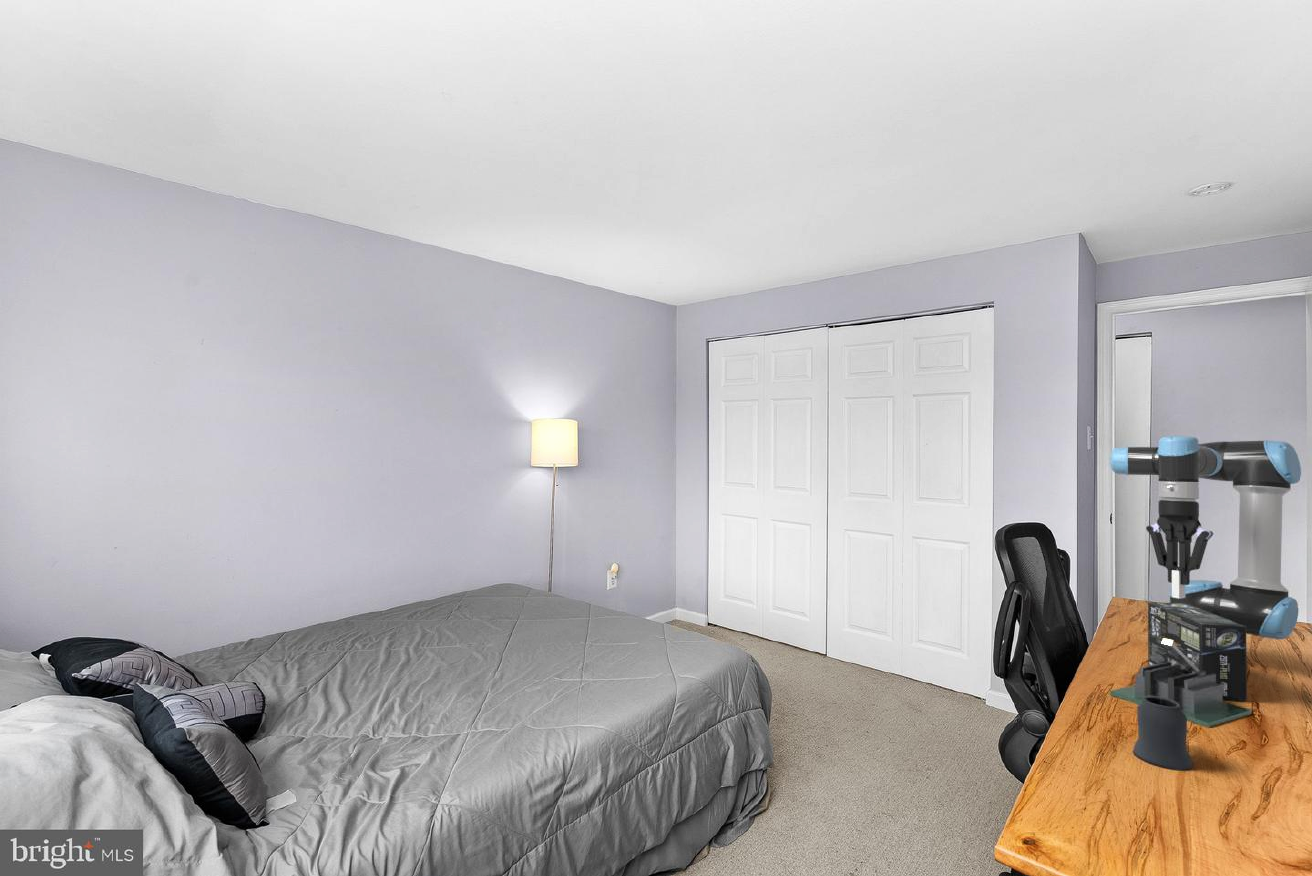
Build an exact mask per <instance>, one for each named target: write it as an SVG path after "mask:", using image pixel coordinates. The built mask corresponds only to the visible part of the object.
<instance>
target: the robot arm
mask: <svg viewBox="0 0 1312 876" xmlns="http://www.w3.org/2000/svg"><path fill="white" fill-rule="evenodd" d="M1109 465H1110V469H1111V470H1112V472H1114V473H1115V474H1117V475H1126V476H1131V475H1133V476H1136V475H1137V476H1158V498H1161V499H1159V501H1158V518H1157V520H1156V523H1154V524H1152V525H1147V526H1146V527H1145V529H1146V531H1147V532H1148V533H1149V535H1150V538H1151V542H1152V545H1153V549H1154V552H1155V556H1156V560H1157V564H1158V565H1159V566H1162V567H1163V568H1166V569H1167V582H1168V583H1169V584H1170V583H1171V584H1170V589H1169V603H1185V604H1189V605H1192V606H1194V607H1197V608H1199V609H1202V610H1205V611H1207V612H1210V613H1213V614H1215V615H1218V616H1221V617H1223V618H1226V619H1228V620H1231V621H1234V622H1236V623H1239V624H1241V625H1244V626H1246V635H1247V634H1248V635H1251V636H1257V637H1260V638H1268V639H1274V640H1285V639H1287V638H1288V637H1290V635H1291V634H1292V633H1293V631H1294V630H1295V627H1296V625H1297V621H1298V617H1299V603H1298V601H1297V600H1296V599H1295V598H1293V597H1291V596H1289V589H1287V588H1286V587H1285V586H1284V585H1283V584H1282V582H1281V580H1282V577H1281V576H1282V539H1283V538H1282V536H1283V533H1282V532H1283V531H1282V530H1283V496H1284V495H1285V494H1288V493H1289V492H1290V491H1291V486H1292V485H1291V484H1293V485H1294V484H1297V483H1299V482H1300V480H1301V476H1302V468H1301V463H1300V459H1299V456H1298V453H1297V451H1296V450H1295V448H1294V447H1293V445H1291V444H1290V443H1288V442H1286V441H1280V440H1246V441H1245V440H1243V441H1242V440H1241V441H1240V440H1237V441H1236V440H1235V441H1212V442H1205V443H1199V440H1198V438H1197V437H1195V436H1185V435H1184V436H1183V435H1182V436H1176V435H1175V436H1163V437H1161V438H1160V439H1159V441H1158V446H1124V447H1122V446H1121V447H1116V448H1114V449H1113V450H1112V451H1111V453H1110V455H1109ZM1200 479H1205V480H1209V481H1210V480H1212V481H1219V482H1232V488H1233V489H1234V490H1236V491H1237V492H1238V493H1239V517H1238V521H1239V522H1238V550H1237V551H1238V552H1237V554H1238V555H1237V578H1236V579H1234V580H1232V581H1231V582H1230V583H1229V588H1225V587H1223V586H1224V585H1223V584H1222V582H1221V581H1216V580H1209V579H1208V580H1206V579H1205V580H1201V579H1196V580H1195V579H1191V580H1190V575H1191V574H1190V572H1191V571H1197V570H1200V568H1201V565H1202V562H1203V558H1204V554H1205V552H1206V549H1207V545H1208V542H1209V540H1210V539H1211V538H1212V536H1213V535H1214V532H1213V531H1212V530H1207V529H1205V528H1204V527H1202V523H1201V522H1200V520H1199V516H1200V503H1198V501H1196V500H1198V499H1200V487H1199V483H1200ZM1161 532H1163V533H1164V535H1165V541H1164V538H1163V535H1162V533H1161ZM1195 534H1196V536H1197V538H1196V539H1195V541H1194V545H1193V548H1192V546H1191V544H1192V541H1193V540H1192V539H1193V538H1192V537H1193V536H1194V535H1195ZM1164 542H1166V546H1165V543H1164ZM1191 548H1192V552H1191Z"/></svg>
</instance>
